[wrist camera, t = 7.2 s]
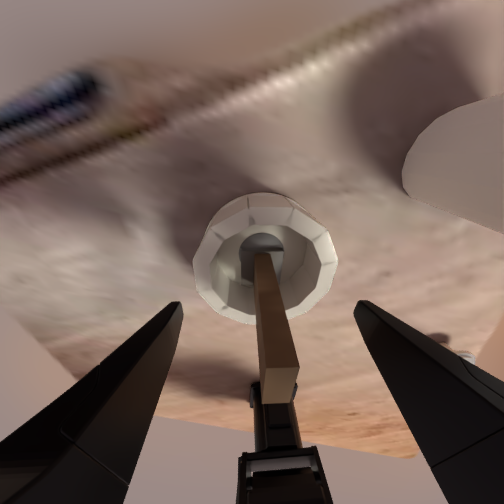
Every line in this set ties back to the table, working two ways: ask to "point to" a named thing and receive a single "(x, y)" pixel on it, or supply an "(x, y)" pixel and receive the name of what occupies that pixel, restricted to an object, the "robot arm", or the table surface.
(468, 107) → the white tapered cylinder
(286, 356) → the brown wooden handle
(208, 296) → the white bowl
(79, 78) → the table surface
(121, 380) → the robot arm
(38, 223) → the table surface
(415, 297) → the table surface
